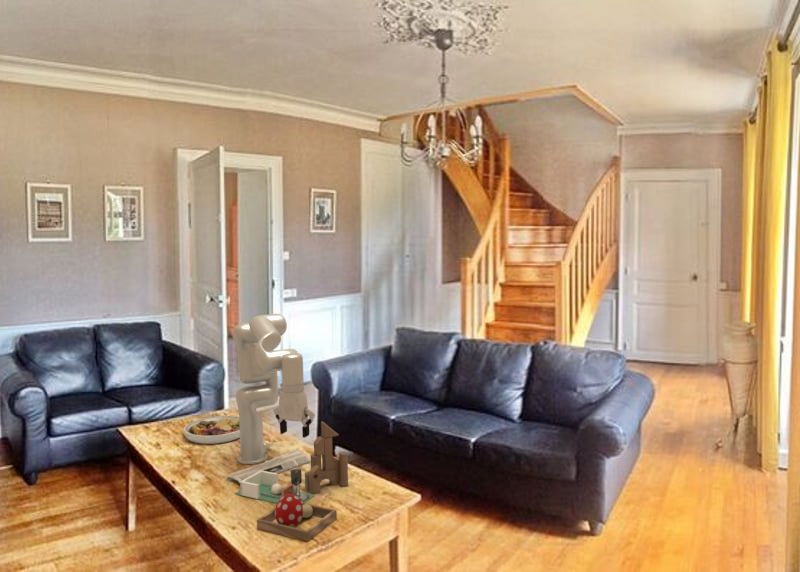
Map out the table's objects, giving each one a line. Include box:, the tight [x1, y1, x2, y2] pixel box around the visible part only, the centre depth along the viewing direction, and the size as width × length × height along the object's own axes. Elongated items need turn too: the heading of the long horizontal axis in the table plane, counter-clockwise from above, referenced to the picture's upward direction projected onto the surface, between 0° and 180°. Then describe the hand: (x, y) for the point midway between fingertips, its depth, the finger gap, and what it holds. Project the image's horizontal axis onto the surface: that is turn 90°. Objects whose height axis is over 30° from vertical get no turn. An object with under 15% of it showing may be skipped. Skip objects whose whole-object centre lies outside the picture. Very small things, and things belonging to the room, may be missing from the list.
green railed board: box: [234, 484, 316, 504], centre depth 232 cm, size 11×28×1 cm, turn 64°
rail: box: [261, 487, 312, 503], centre depth 230 cm, size 6×18×1 cm, turn 64°
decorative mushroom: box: [275, 494, 313, 528], centre depth 210 cm, size 11×11×15 cm
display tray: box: [256, 502, 337, 542], centre depth 209 cm, size 17×20×3 cm
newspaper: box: [226, 448, 311, 484], centre depth 256 cm, size 35×12×4 cm, turn 137°
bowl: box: [183, 415, 240, 445], centre depth 300 cm, size 30×30×8 cm
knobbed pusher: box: [281, 468, 307, 501], centre depth 227 cm, size 6×8×10 cm
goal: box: [239, 470, 279, 500], centre depth 235 cm, size 12×8×5 cm, turn 154°
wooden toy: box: [304, 421, 349, 495], centre depth 237 cm, size 16×7×25 cm, turn 120°
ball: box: [271, 482, 283, 495], centre depth 231 cm, size 4×4×4 cm
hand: (294, 434), depth 225 cm, fingers open, 9 cm apart
